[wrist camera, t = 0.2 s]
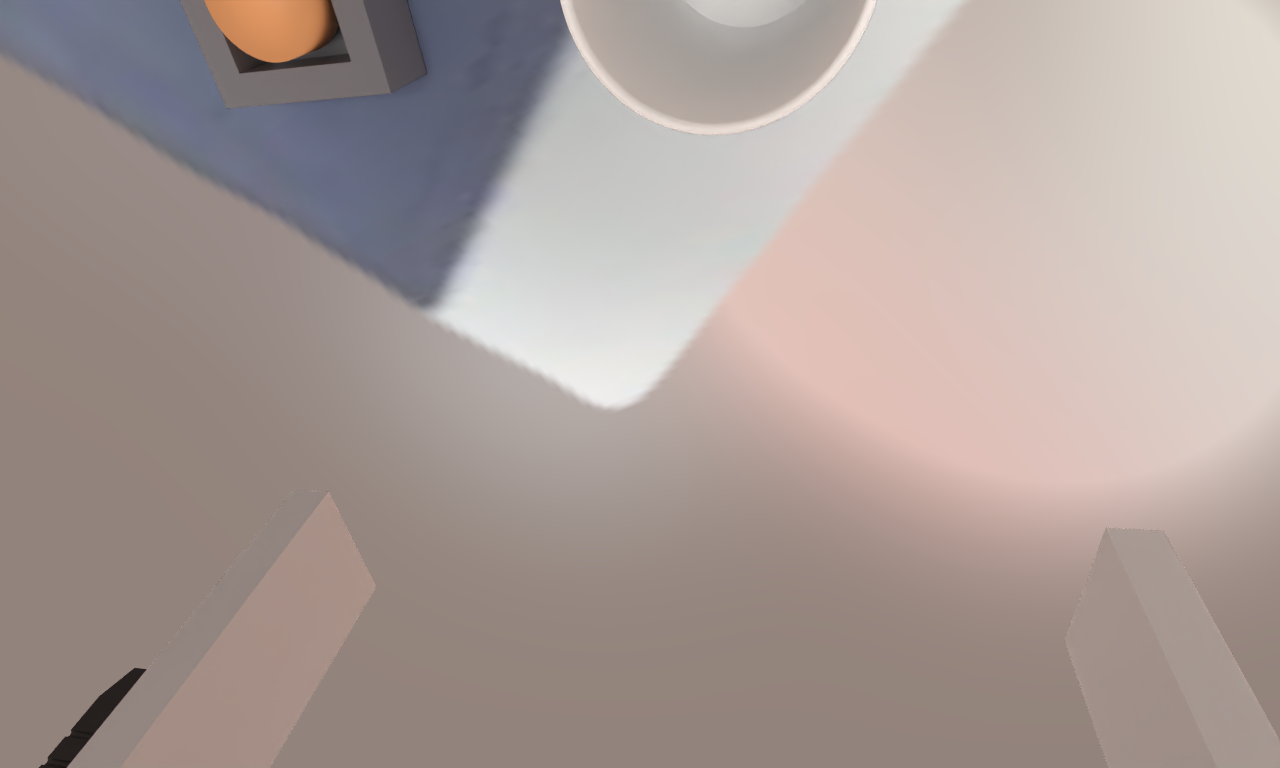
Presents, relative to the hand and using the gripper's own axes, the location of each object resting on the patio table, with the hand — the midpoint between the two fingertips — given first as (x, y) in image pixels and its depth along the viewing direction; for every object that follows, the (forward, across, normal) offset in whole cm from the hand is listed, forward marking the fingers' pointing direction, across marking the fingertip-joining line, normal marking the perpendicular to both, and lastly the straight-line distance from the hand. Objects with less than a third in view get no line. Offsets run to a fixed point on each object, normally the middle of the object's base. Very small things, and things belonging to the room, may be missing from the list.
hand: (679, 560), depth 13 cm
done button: (+25, -21, +8) cm, 34 cm away
